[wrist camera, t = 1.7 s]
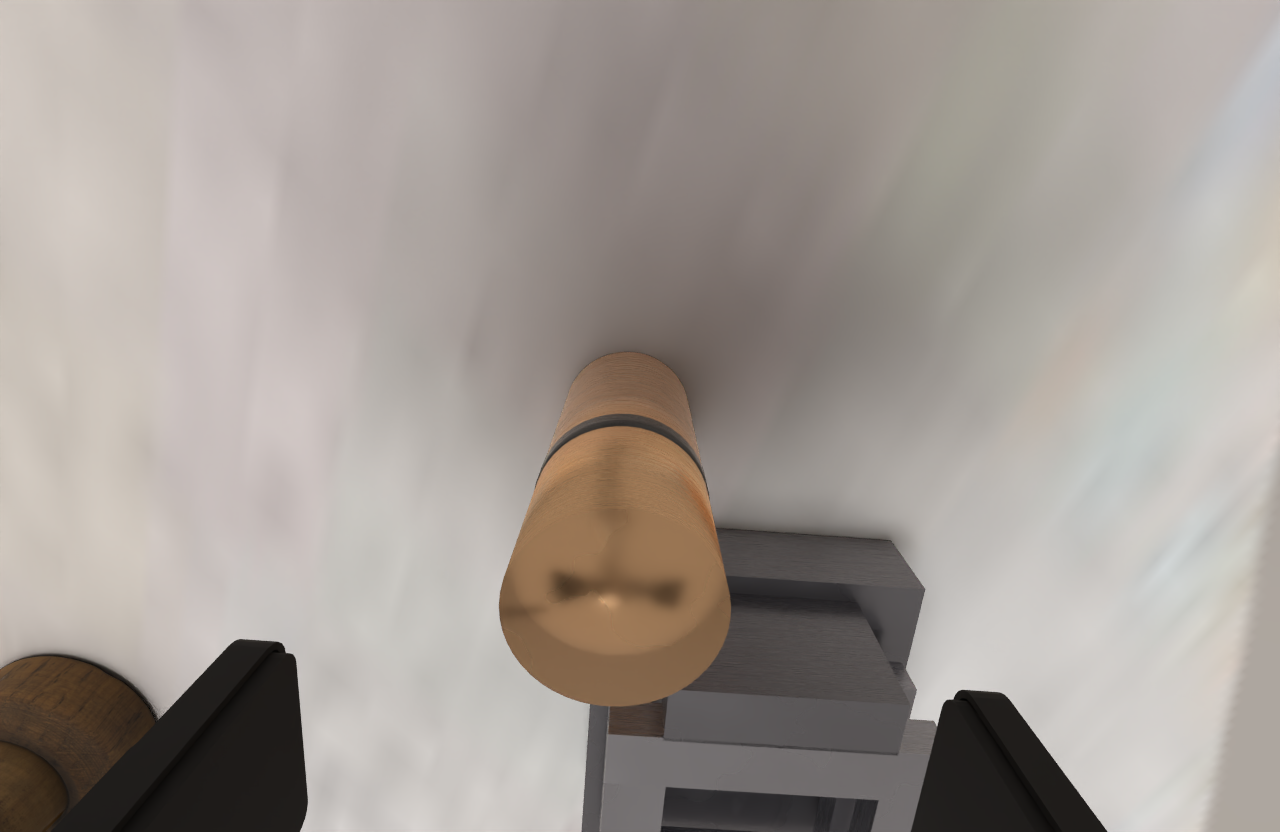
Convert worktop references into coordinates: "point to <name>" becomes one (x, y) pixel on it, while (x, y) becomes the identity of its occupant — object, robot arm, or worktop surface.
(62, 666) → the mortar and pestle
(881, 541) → the bracket
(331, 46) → the worktop surface
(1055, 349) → the worktop surface
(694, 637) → the copper tube
